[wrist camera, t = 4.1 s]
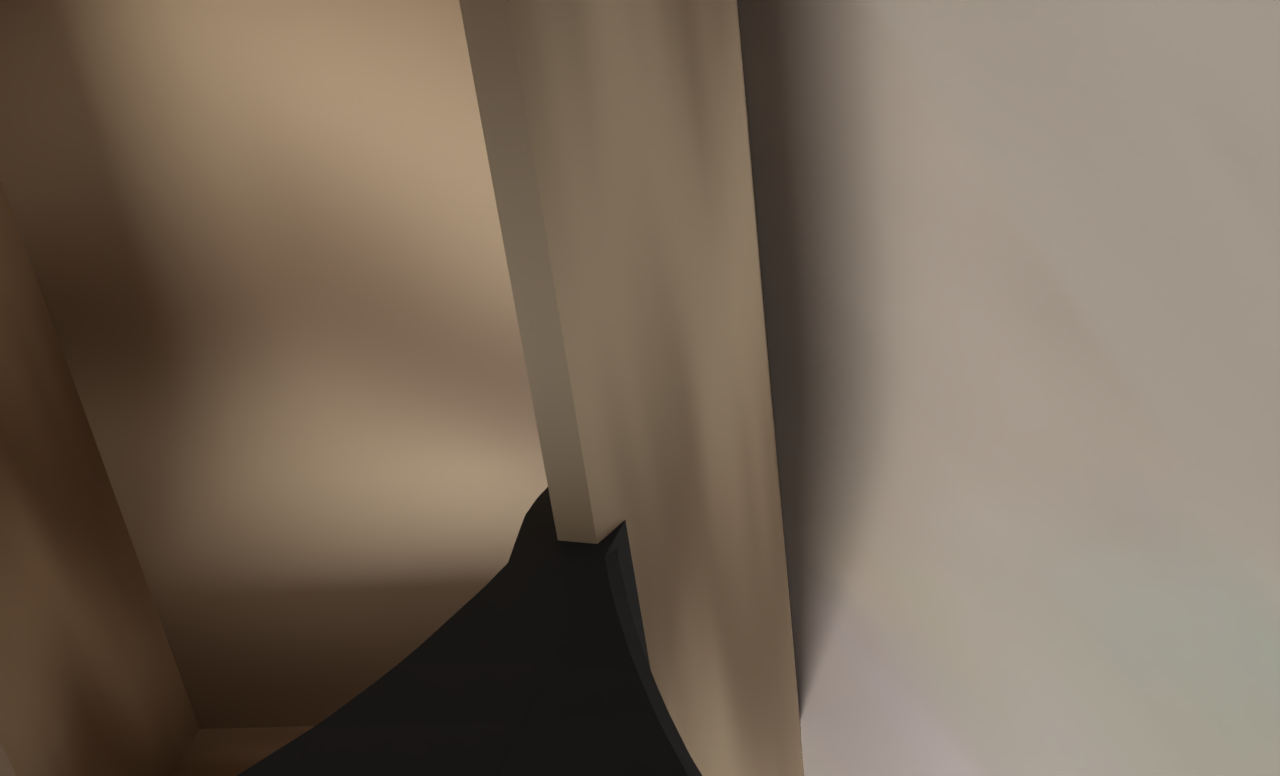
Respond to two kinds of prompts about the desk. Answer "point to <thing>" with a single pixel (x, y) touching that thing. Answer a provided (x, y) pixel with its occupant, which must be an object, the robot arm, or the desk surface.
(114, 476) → the carton
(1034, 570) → the desk surface
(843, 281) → the desk surface
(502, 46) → the flap
